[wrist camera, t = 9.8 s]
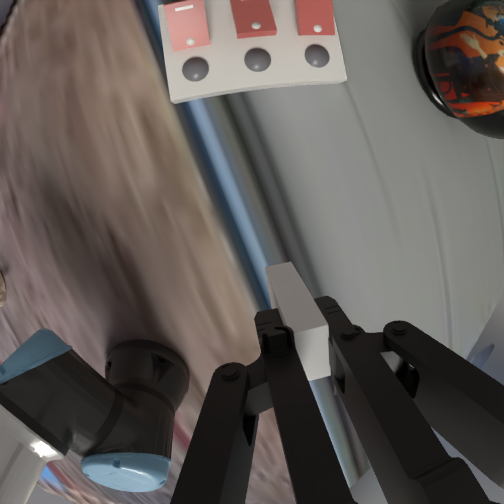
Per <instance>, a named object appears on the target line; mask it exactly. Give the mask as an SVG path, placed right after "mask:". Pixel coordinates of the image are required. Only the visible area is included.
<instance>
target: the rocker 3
mask: <svg viewBox="0 0 504 504" xmlns="http://www.w3.org/2000/svg"><path fill="white" fill-rule="evenodd" d="M294 4H295V12H296V21H297V31H298V36H301V35H335V26H334V15H333V5H332V0H294Z"/></svg>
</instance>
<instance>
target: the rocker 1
mask: <svg viewBox="0 0 504 504" xmlns="http://www.w3.org/2000/svg"><path fill="white" fill-rule="evenodd" d="M163 6H164V11H165V16H166V20H167V25H168V30H169V34H170V39H171V43H172V48H173V52H175V51H179V50H184V49H189V48H194V47H199V46H205V45H210V39H209V33H208V26H207V20H206V14H205V7H204V0H180V1H175V2H170V3H166V4H164V5H163Z"/></svg>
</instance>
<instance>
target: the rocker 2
mask: <svg viewBox="0 0 504 504" xmlns="http://www.w3.org/2000/svg"><path fill="white" fill-rule="evenodd" d="M230 5H231V10H232V15H233V19H234V24H235V29H236V34H237V39H242V38H251V37H261V36H273V35H276V33H277V27H276V24H275V20H274V17H273V13H272V10H271V6H270V3H269V0H230Z"/></svg>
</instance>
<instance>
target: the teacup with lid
mask: <svg viewBox="0 0 504 504" xmlns="http://www.w3.org/2000/svg"><path fill="white" fill-rule="evenodd" d="M5 292H6V289H5V283H4V279H3V277H2V275H1V273H0V307H1V306H2V305H3V304H4V303H5V302H6V293H5Z"/></svg>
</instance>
